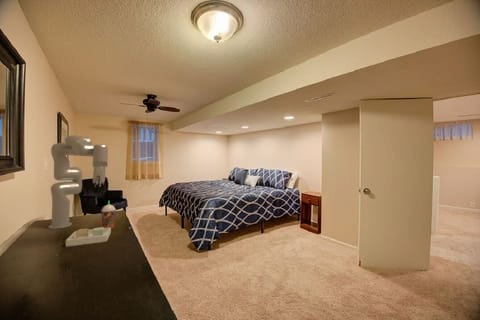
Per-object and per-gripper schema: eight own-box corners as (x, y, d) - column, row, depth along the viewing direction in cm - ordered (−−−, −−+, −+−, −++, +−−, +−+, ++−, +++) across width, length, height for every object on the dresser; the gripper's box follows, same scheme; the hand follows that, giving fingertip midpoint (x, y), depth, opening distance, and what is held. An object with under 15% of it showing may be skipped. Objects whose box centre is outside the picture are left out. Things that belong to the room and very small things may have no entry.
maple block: (78, 237, 121) (78, 229, 121) (88, 236, 123) (88, 228, 123) (75, 240, 116) (75, 232, 117) (86, 239, 119) (86, 231, 119)
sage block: (94, 236, 124) (94, 227, 124) (103, 234, 126) (104, 226, 127) (92, 238, 120) (92, 230, 120) (102, 237, 122) (102, 229, 122)
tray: (74, 236, 125) (74, 231, 125) (110, 232, 133) (110, 227, 133) (65, 246, 110) (65, 240, 110) (106, 241, 118) (106, 235, 118)
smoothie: (110, 231, 135) (110, 202, 135) (98, 231, 135) (98, 201, 135) (118, 227, 143) (118, 199, 143) (106, 227, 143) (107, 199, 143)
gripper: (95, 164, 130) (95, 190, 130) (89, 164, 114) (88, 194, 114) (109, 164, 133) (108, 190, 133) (104, 164, 118) (104, 193, 117)
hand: (99, 192), depth 124 cm, fingers open, 9 cm apart
